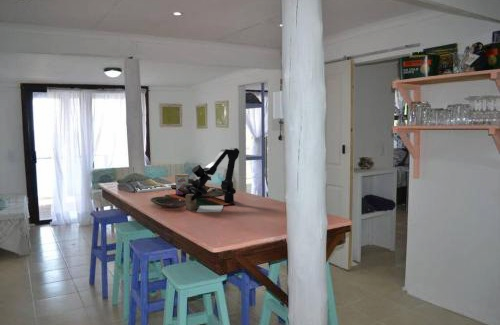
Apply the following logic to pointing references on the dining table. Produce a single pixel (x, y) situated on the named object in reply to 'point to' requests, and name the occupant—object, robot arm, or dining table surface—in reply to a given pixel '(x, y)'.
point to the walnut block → (190, 202)
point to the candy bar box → (181, 182)
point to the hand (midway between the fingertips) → (189, 199)
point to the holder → (157, 188)
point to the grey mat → (210, 209)
